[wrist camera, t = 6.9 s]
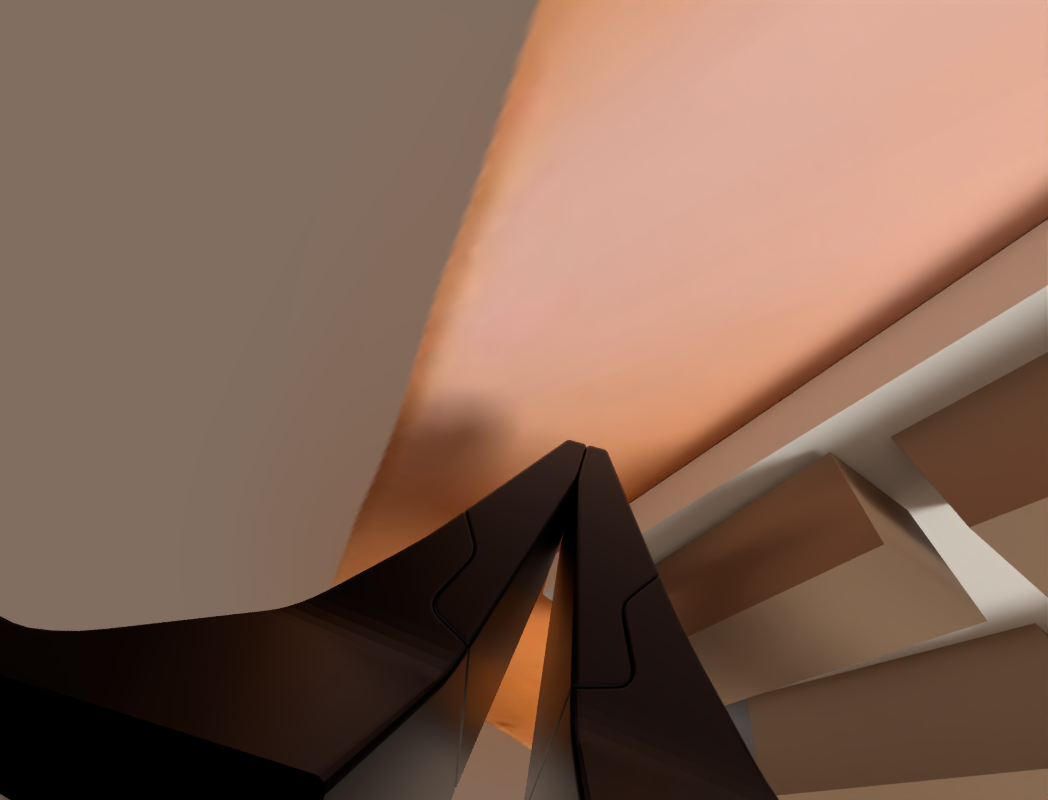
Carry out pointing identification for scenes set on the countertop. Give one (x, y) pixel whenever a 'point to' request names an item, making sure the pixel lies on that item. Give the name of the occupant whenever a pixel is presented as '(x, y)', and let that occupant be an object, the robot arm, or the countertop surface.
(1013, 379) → the tray of grey blocks
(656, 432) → the countertop surface
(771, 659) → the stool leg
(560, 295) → the countertop surface
